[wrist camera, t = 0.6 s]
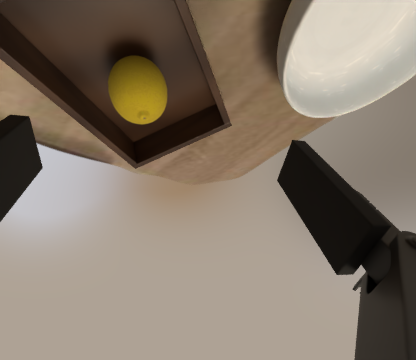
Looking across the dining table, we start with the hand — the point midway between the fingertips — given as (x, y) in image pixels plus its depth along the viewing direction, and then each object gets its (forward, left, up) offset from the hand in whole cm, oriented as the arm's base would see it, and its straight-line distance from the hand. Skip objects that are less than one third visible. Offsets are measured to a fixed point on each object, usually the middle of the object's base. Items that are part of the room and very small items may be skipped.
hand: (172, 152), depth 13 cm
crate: (+5, -3, -17) cm, 18 cm away
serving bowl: (+10, +21, -17) cm, 29 cm away
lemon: (+5, -3, -17) cm, 18 cm away
